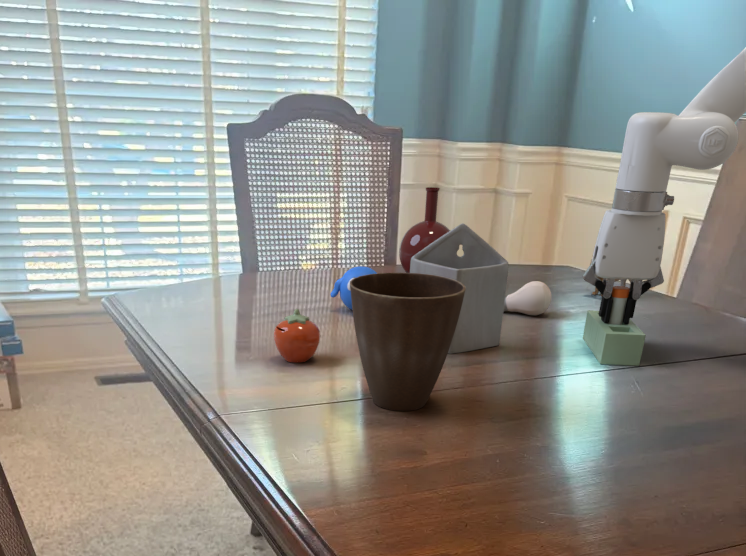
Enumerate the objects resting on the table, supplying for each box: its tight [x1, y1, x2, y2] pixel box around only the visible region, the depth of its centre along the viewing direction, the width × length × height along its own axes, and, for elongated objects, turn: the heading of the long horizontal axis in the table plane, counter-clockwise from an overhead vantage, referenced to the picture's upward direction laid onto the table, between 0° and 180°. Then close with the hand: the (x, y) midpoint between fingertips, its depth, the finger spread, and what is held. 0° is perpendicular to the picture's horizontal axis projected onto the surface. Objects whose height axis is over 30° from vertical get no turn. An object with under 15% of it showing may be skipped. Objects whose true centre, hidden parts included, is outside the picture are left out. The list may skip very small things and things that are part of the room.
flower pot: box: [350, 272, 466, 412], centre depth 103 cm, size 15×15×16 cm
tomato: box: [273, 308, 321, 364], centre depth 122 cm, size 7×7×8 cm
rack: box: [582, 309, 647, 367], centre depth 130 cm, size 16×6×5 cm, turn 175°
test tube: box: [606, 285, 630, 325], centre depth 129 cm, size 3×3×10 cm
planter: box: [410, 223, 510, 355], centre depth 127 cm, size 16×8×19 cm, turn 80°
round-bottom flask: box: [398, 186, 451, 273], centre depth 174 cm, size 13×13×20 cm
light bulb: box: [503, 280, 553, 316], centre depth 153 cm, size 7×7×11 cm
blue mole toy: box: [330, 265, 378, 311], centre depth 150 cm, size 12×12×8 cm
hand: (614, 320), depth 129 cm, fingers closed on test tube, 2 cm apart
